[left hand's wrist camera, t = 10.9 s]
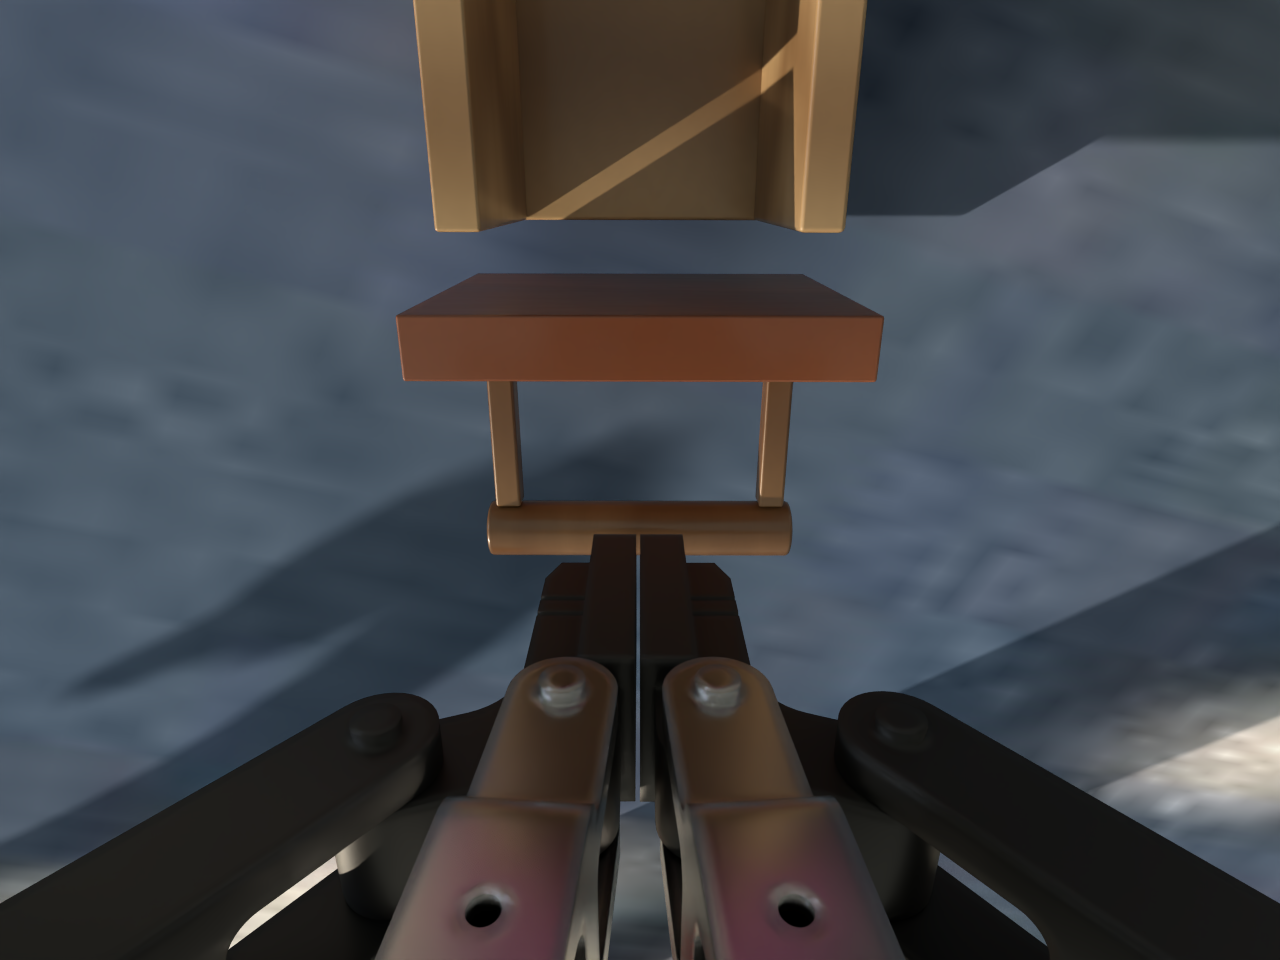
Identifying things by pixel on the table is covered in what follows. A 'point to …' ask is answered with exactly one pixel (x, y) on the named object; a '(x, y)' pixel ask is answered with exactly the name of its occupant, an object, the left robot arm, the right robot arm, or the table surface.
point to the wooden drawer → (640, 190)
